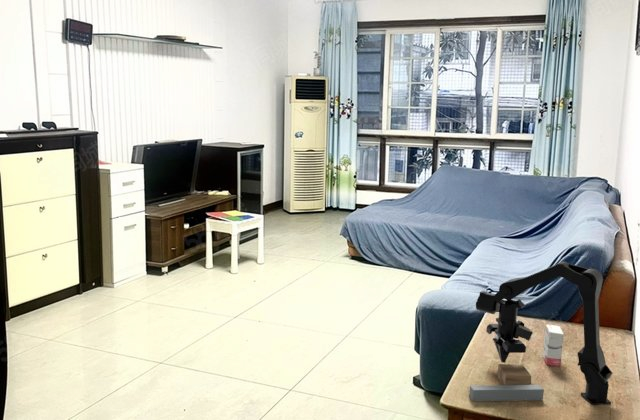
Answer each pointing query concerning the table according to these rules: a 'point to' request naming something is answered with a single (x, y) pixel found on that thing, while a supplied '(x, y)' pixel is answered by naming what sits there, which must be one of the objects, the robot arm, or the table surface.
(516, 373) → the walnut block
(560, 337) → the ink box
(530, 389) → the grey board
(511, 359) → the table surface
